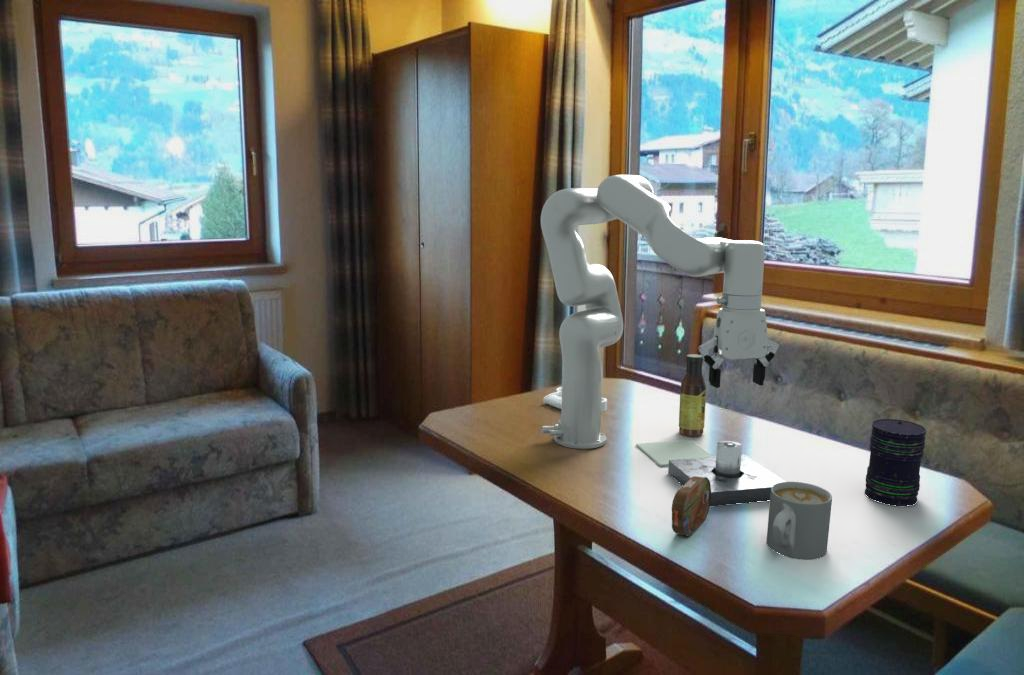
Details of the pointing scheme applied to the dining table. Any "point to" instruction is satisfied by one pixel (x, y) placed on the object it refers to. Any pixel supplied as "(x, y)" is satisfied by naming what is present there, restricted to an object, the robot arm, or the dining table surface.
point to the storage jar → (895, 461)
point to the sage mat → (672, 451)
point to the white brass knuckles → (556, 400)
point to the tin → (691, 505)
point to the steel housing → (728, 480)
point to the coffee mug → (799, 520)
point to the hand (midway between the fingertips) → (736, 385)
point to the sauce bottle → (692, 398)
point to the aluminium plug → (728, 459)
